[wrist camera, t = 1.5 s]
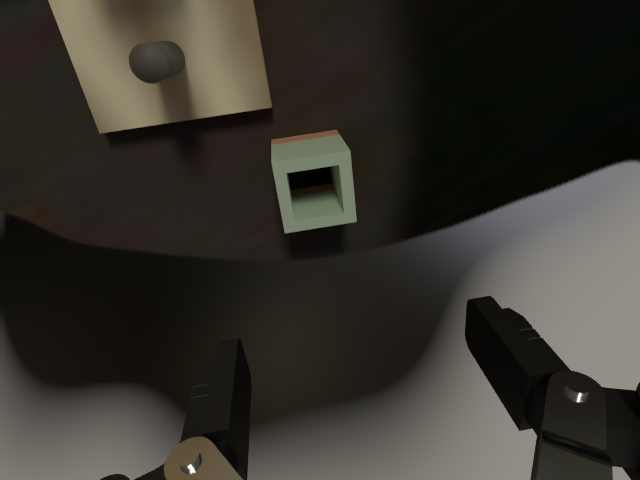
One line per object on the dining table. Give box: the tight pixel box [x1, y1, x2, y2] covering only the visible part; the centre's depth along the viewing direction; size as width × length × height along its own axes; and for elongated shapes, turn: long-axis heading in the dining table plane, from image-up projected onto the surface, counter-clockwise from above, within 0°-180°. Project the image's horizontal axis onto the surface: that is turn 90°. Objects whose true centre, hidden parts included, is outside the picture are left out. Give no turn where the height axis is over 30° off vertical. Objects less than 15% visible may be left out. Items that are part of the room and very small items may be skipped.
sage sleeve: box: [271, 130, 357, 233], centre depth 29 cm, size 5×5×6 cm
